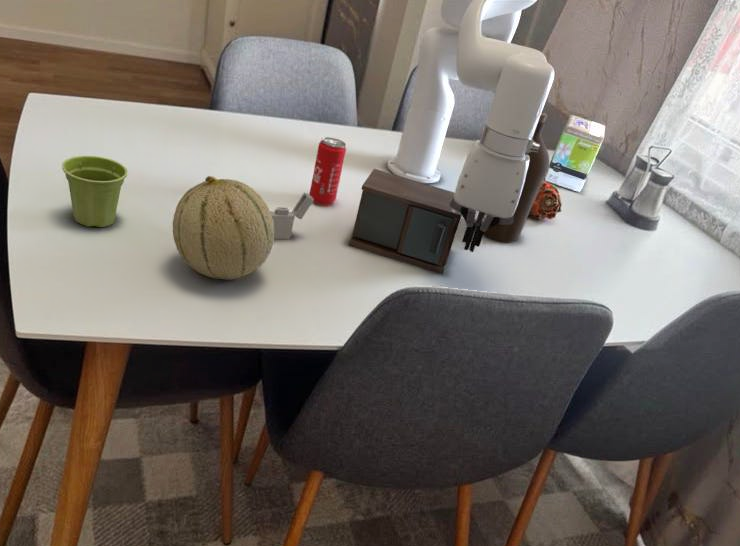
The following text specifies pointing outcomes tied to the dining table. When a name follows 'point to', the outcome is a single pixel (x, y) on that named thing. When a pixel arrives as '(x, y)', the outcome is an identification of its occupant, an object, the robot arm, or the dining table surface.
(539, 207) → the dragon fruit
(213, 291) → the dining table surface
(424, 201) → the cabinet
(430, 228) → the tinted door with handle
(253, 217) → the cantaloupe
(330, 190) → the beverage can
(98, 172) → the plant pot
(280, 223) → the lighter
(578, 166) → the tea box
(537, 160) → the olive oil
